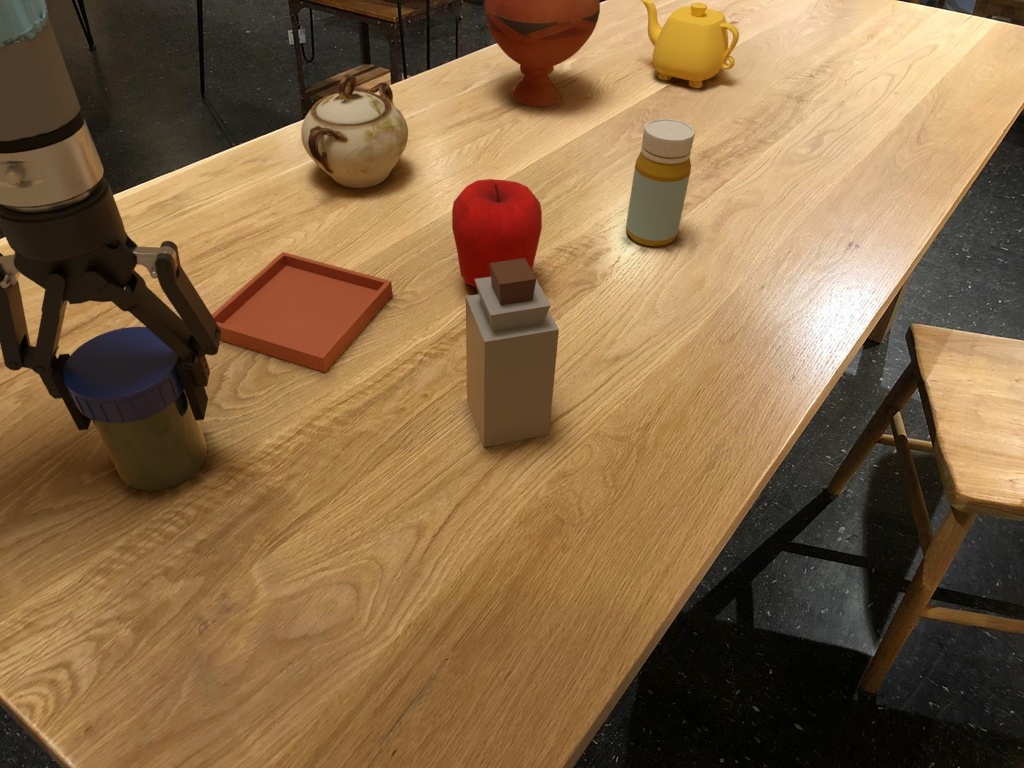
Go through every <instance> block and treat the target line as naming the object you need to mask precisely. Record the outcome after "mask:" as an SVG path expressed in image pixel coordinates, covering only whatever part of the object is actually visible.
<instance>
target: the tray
mask: <svg viewBox="0 0 1024 768" xmlns="http://www.w3.org/2000/svg"><path fill="white" fill-rule="evenodd" d="M393 295H394V293H393V285H392V281H391V280H388V279H385V278H381V277H377V276H373V275H369V274H366V273H362V272H359V271H355V270H351V269H347V268H345V267H340V266H337V265H333V264H329V263H325V262H321V261H318V260H314V259H311V258H308V257H303V256H299V255H295V254H293V253H288V252H285V251H282V252H281V253H280V254H278V255H277V256H276V257H275V258H274V259H272V261H271V262H270V263H268V264H267V265H266V266H265V267H264V268H262V269H261V270H260V271H259V272H258V273H257V274H256V275H254V276H253V277H252V278H251V279H250V280H249V281H248V282H247V283H246V284H244V285H243V286H242V287H241V288H240V289H239V290H237V292H235V294H233V295H232V296H231V297H230V298H229V299H228V300H226V301H225V303H223V304H222V305H221V306H219V308H218V309H217V310H215V311H214V312H213V313H211V315H212V316H213V318H214V320H215V321H216V323H217V324H218V326H219V328H220V329H221V331H222V333H221V339H220V341H221V342H226V343H227V344H228V343H229V344H232V345H236V346H238V347H241V348H243V349H247V350H251V351H255V352H258V353H260V354H261V353H262V354H264V355H267V356H270V357H273V358H277V359H280V360H284V361H286V362H289V363H293V364H296V365H299V366H303V367H306V368H309V369H313V370H316V371H319V372H322V373H327V372H328V370H329V369H330V368H331V367H332V366H333V365H334V363H336V361H337V360H338V359H339V358H340V357H341V355H342V354H343V353H344V352H345V351H346V349H348V347H349V346H350V345H351V344H352V343H353V342H354V340H355V339H356V338H357V337H358V336H359V335H360V334H361V332H362V331H363V330H364V329H365V328H366V327H367V325H369V323H370V322H371V321H372V320H373V319H374V317H375V316H377V314H378V313H379V312H380V310H381V309H382V308H383V307H384V306H385V305H386V303H387V302H389V300H390V299H391V298H392V297H393Z"/></svg>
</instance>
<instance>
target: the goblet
mask: <svg viewBox="0 0 1024 768" xmlns="http://www.w3.org/2000/svg"><path fill="white" fill-rule="evenodd" d="M484 11H485V12H484V14H485V19H486V20H485V21H486V24H487V27H488V30H489V33H490V35H491V37H492V39H493V40H494V41H495V43H496V45H498V47H499V48H500V49H501V51H502V52H503V53H504V54H505V55H506V56H507V57H508V58H510V59H511V60H512V61H514V62H515V63H516V64H518V65H519V71H520V73H521V74H522V75H523V76H522V78H521V79H520V80H519V82H518V81H517V84H515V87H514V88H513V90H512V91H511V97H512V99H513V100H514V101H515V102H517V103H519V104H520V105H524V106H528V107H529V106H530V107H538V108H539V107H540V108H541V107H549V106H552V105H554V104H558V102H559V101H560V98H561V94H560V91H559V89H558V87H557V86H556V85H555V82H553V80H552V78H551V76H550V75H551V74H552V73H553V72H554V70H555V68H554V67H555V66H558V65H559V64H562V63H563V62H565V61H567V60H569V59H570V58H572V57H573V56H574V55H575V54H577V53H578V52H579V51H580V50H581V49H582V48H583V46H584V45H585V44H586V43H587V42H588V40H589V39H590V38H591V36H592V35H593V33H594V31H595V29H596V27H597V24H598V21H599V17H600V14H601V0H484Z"/></svg>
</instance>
